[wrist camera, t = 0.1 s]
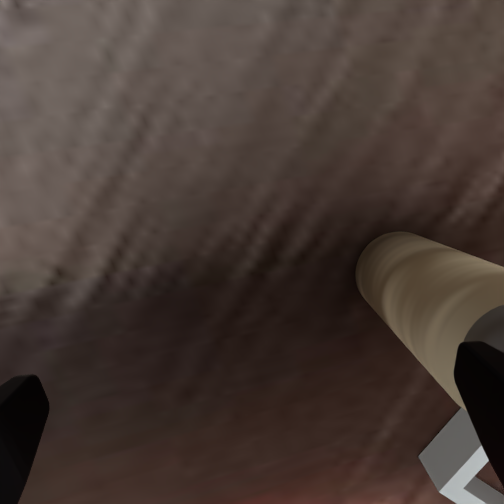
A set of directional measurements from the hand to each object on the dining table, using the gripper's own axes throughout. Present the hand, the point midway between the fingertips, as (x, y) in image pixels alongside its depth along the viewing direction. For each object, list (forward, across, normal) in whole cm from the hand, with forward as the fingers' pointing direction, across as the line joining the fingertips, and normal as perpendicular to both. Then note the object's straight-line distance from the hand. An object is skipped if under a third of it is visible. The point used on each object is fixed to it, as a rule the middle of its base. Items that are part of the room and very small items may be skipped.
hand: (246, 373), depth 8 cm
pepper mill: (+14, -8, +6) cm, 18 cm away
